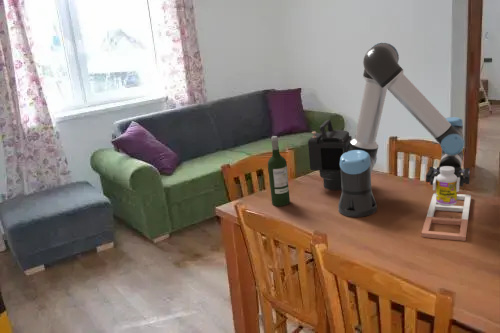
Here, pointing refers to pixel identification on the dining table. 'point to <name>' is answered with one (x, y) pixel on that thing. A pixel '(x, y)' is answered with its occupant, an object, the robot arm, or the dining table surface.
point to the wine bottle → (278, 176)
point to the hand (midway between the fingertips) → (445, 187)
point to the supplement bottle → (446, 186)
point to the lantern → (328, 154)
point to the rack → (447, 219)
